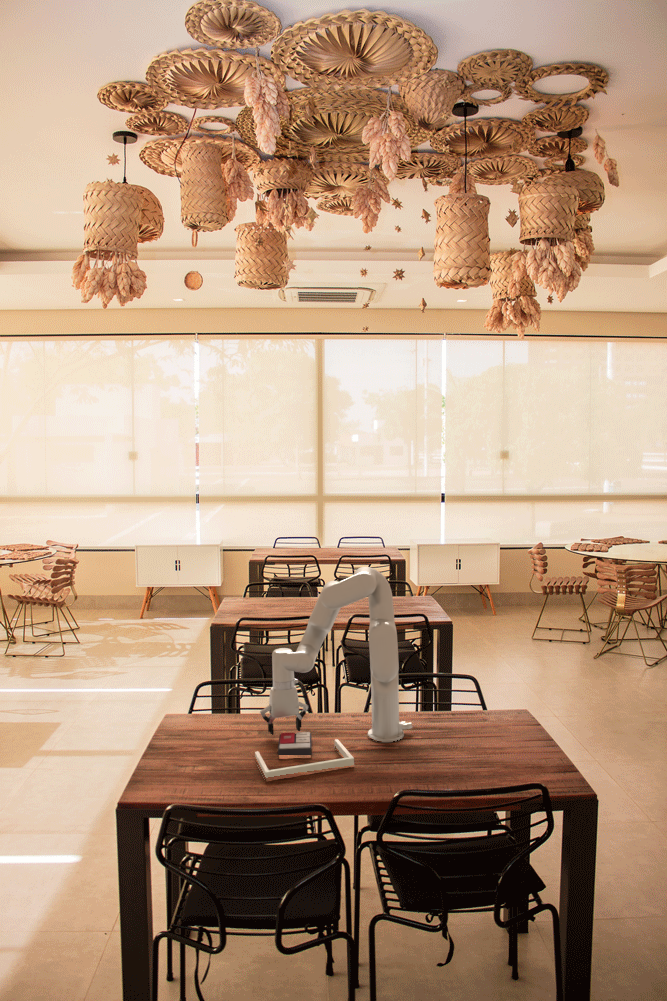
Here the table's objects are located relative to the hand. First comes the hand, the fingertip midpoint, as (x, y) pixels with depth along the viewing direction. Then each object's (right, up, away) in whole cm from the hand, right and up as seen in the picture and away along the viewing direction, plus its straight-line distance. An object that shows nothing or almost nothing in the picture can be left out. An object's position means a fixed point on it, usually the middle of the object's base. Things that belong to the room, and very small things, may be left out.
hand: (284, 731), depth 251 cm
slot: (+7, -3, -23) cm, 24 cm away
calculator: (+4, -3, -12) cm, 13 cm away
